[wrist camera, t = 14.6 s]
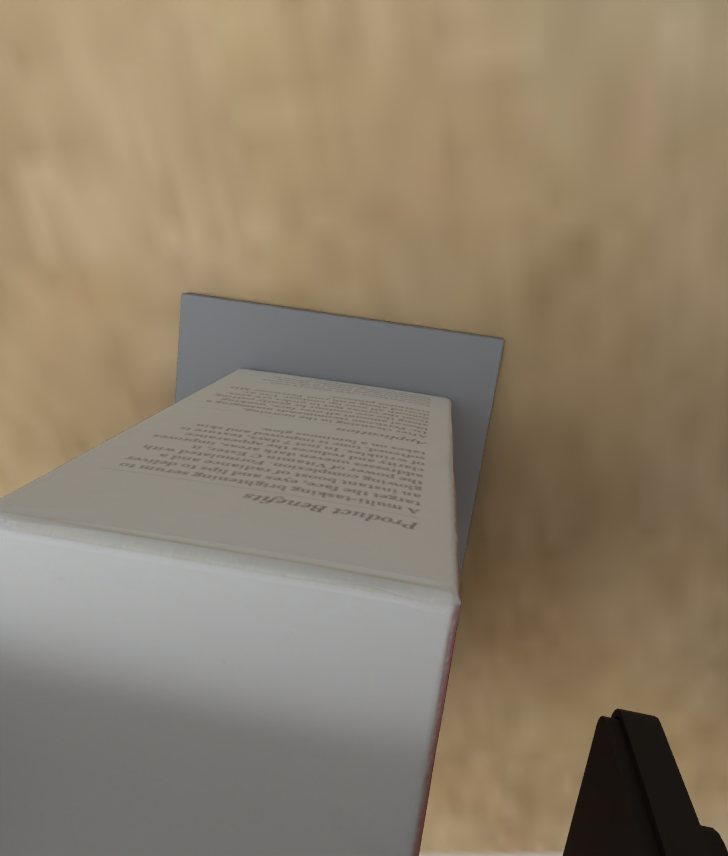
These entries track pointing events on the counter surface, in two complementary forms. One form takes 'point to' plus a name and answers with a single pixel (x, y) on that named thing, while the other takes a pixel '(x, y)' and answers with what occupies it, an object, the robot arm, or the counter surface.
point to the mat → (349, 365)
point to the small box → (232, 628)
